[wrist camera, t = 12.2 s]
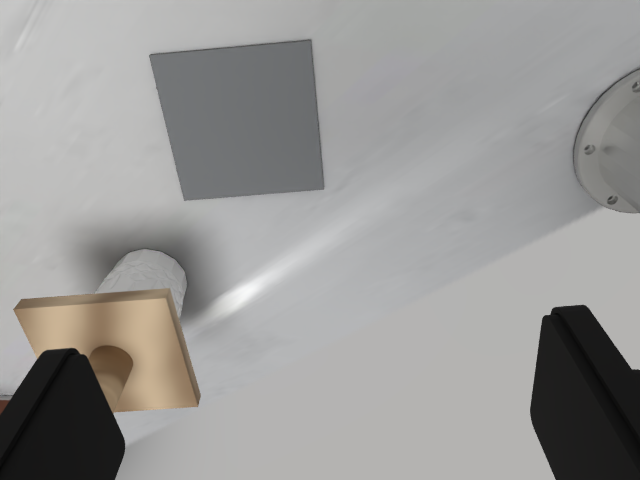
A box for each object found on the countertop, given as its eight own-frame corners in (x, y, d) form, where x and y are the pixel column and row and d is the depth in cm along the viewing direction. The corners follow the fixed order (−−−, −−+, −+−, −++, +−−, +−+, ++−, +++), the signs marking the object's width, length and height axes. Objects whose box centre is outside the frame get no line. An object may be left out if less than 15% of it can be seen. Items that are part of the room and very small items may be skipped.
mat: (310, 39, 39) (310, 40, 38) (323, 187, 45) (323, 189, 44) (150, 54, 39) (149, 55, 39) (185, 198, 45) (184, 200, 45)
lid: (169, 288, 38) (145, 347, 32) (200, 395, 43) (184, 460, 38) (21, 299, 38) (-27, 359, 33) (71, 403, 44) (37, 469, 38)
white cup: (179, 321, 52) (153, 398, 44) (100, 295, 50) (56, 370, 42) (204, 260, 48) (180, 332, 40) (120, 230, 47) (76, 298, 38)
